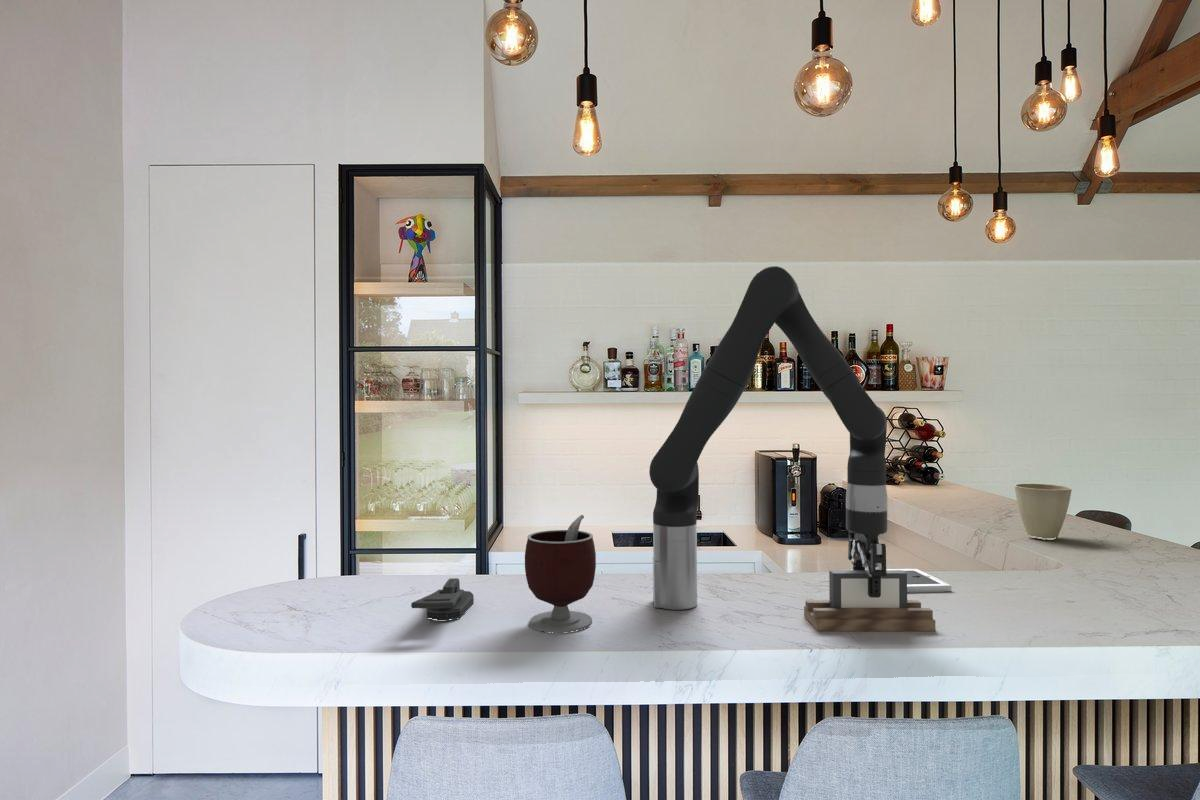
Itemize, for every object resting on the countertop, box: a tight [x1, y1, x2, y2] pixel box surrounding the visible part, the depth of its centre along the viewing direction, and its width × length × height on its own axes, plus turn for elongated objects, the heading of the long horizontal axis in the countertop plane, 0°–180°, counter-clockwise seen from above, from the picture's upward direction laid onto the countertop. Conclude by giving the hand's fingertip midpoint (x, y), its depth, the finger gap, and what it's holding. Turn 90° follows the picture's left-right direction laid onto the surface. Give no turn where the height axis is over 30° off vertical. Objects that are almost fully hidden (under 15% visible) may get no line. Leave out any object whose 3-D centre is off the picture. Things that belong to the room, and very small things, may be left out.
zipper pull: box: [410, 577, 475, 620], centre depth 144 cm, size 9×7×25 cm
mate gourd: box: [524, 514, 597, 634], centre depth 140 cm, size 16×14×20 cm
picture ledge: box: [803, 599, 936, 632], centre depth 138 cm, size 22×9×4 cm, turn 89°
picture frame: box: [886, 568, 952, 593], centre depth 168 cm, size 16×3×21 cm
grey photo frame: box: [828, 569, 908, 608], centre depth 138 cm, size 14×2×8 cm, turn 88°
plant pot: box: [1014, 483, 1072, 538], centre depth 219 cm, size 15×15×16 cm
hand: (866, 590), depth 138 cm, fingers open, 8 cm apart
